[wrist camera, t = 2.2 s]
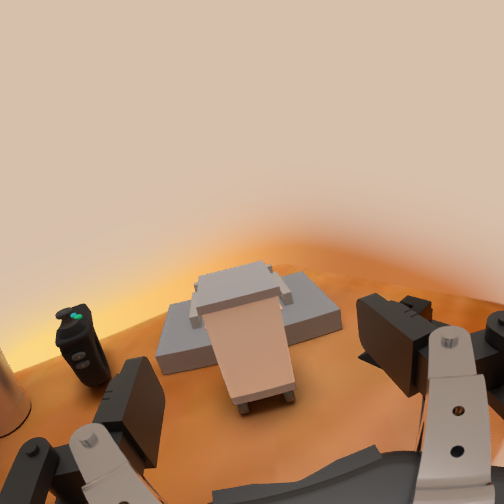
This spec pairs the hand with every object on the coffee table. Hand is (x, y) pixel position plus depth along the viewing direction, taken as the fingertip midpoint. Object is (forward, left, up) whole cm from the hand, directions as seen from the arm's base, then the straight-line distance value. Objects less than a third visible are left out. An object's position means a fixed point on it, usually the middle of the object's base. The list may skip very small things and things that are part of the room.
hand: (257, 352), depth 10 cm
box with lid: (0, +11, -12) cm, 16 cm away
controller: (-19, +19, -12) cm, 30 cm away
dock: (0, +24, -12) cm, 27 cm away
